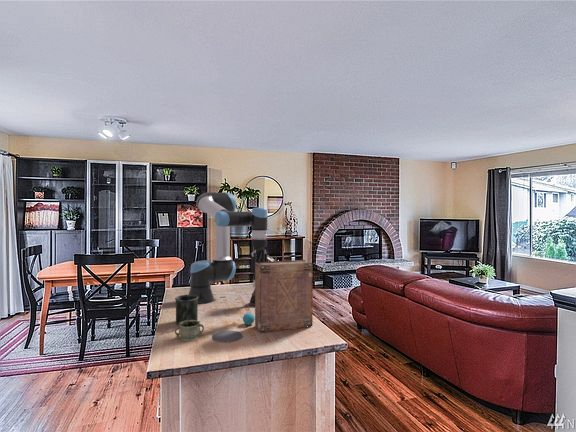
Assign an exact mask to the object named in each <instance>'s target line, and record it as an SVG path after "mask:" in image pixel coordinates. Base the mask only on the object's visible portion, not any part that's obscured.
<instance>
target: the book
mask: <svg viewBox="0 0 576 432" xmlns="http://www.w3.org/2000/svg"><path fill="white" fill-rule="evenodd" d="M313 265H314V264H313V263H312V262H306V260H305V259H299V260H298V259H297V260H279V261H277V260H275V261H274V262H271V261H267V262H256V263H255V287H254V289H255V307H254V317H255V320H254V327H255V328H256V329H257V330H258V331H259V333H260V334H261V333H272V332H279V331H285V330H286V331H288V329H289V330H295V329H294V328H297V329H302V328H301V327H305V328H308V327H307V326H312V327H313V318H314V317H313V316H314V315H313V297H314V296H313V293H314V291H313V288H314V286H313V279H314V278H313V277H314V276H313V274H314V271H313V269H314V266H313Z"/></svg>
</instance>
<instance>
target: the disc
mask: <svg viewBox="0 0 576 432" xmlns="http://www.w3.org/2000/svg"><path fill="white" fill-rule="evenodd" d="M243 337H244V335H243V332H241V331H239V330H222V331H217V332H216V333H213V334H212V336H211V338H212V340H213V341H216V342H220V343H232V342H236V341H239V340H242V338H243Z"/></svg>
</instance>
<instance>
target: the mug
mask: <svg viewBox="0 0 576 432" xmlns="http://www.w3.org/2000/svg"><path fill="white" fill-rule="evenodd" d="M198 298H199V297H198V296H197V295H188V294H182V295H178V296H176V297H175V298H174V300H175V323H176V325H177V326H179V323H181V322H183V321H186V320H197V321H199V320H198V317H199V316H198V315H199V313H198V308H199V307H198V306H199V304H198Z"/></svg>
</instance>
